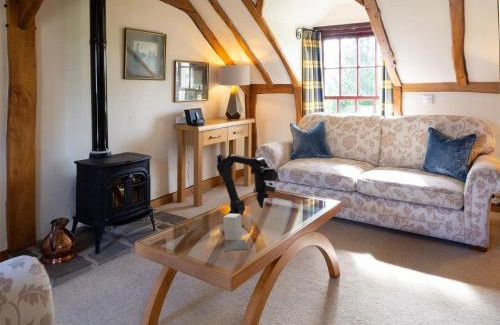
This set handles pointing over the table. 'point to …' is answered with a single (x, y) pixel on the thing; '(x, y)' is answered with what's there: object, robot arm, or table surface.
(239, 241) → the mat
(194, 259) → the table surface
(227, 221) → the supplement box
